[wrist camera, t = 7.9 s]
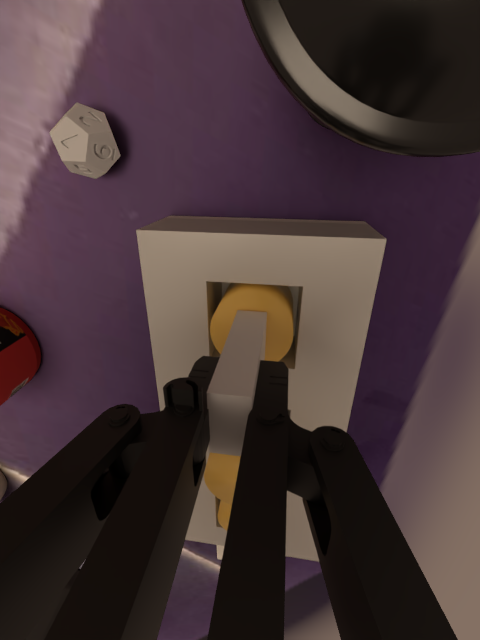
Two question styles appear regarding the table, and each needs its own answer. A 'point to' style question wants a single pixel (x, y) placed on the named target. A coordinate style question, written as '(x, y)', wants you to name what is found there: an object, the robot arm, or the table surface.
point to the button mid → (222, 475)
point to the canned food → (16, 354)
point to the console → (308, 318)
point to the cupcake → (2, 485)
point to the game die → (85, 141)
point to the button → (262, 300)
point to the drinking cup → (380, 69)
